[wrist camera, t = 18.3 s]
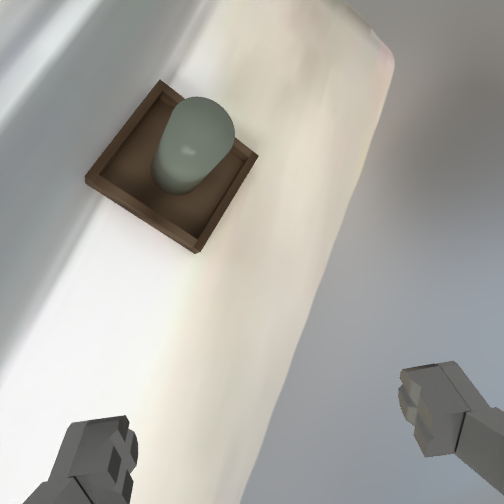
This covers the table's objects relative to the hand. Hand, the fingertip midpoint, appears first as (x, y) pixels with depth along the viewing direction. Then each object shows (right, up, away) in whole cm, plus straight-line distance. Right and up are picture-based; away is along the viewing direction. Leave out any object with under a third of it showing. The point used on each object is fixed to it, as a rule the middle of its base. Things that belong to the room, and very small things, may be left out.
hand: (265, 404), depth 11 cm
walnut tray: (-8, +13, +27) cm, 30 cm away
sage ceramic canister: (-8, +13, +26) cm, 30 cm away
